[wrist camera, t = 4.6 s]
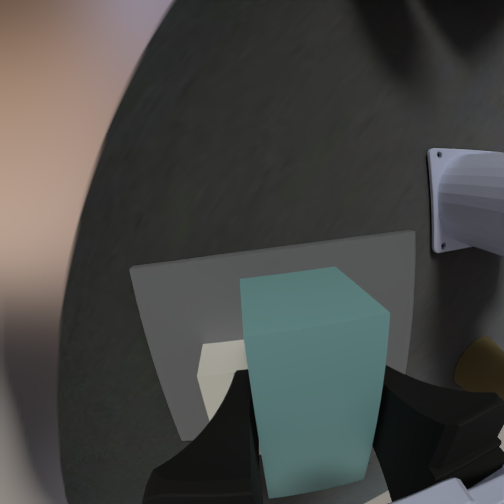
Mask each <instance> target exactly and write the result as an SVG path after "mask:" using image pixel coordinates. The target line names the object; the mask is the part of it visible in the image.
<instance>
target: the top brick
mask: <svg viewBox="0 0 504 504" xmlns="http://www.w3.org/2000/svg"><path fill="white" fill-rule="evenodd" d="M240 293H241V308H242V323H243V337H244V344H245V351H246V358H247V365H248V372H249V378H250V385H251V392H252V398H253V405H254V412H255V418H256V424H257V431H258V437H259V443H260V450H261V456H262V462H263V468H264V474H265V480H266V486H267V492H268V497H269V499H270V498H278V497H285V496H292V495H298V494H303V493H309V492H314V491H319V490H323V489H328V488H332V487H337V486H341V485H345V484H348V483H352V482H356V481H359V480H363V479H364V477H365V473H366V469H367V465H368V461H369V457H370V453H371V448H372V444H373V439H374V434H375V429H376V424H377V419H378V413H379V407H380V401H381V395H382V388H383V381H384V374H385V365H386V357H387V347H388V336H389V323H390V312H389V311H388V310H387V309H385V308H384V307H383V306H382V305H381V304H380V303H378V302H377V301H376V300H375V299H374V298H373V297H371V296H370V295H369V294H368V293H367V292H365V291H364V290H363V289H362V288H361V287H359V286H358V285H357V284H356V283H355V282H354V281H352V280H351V279H350V278H349V277H348V276H346V275H345V274H344V273H343V272H341V271H340V270H339V269H338V268H337V267H328V268H320V269H313V270H306V271H298V272H291V273H283V274H275V275H267V276H259V277H251V278H243V279H240Z"/></svg>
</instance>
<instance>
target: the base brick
mask: <svg viewBox="0 0 504 504" xmlns="http://www.w3.org/2000/svg"><path fill="white" fill-rule="evenodd" d="M245 369H248V365H247V358H246V351H245V344H244V340H235V341H227V342H218V343H208V344H203V346H202V351H201V357H200V362H199V368H198V373H197V379H198V382H199V386H200V390H201V393H202V397H203V400H204V404H205V407H206V411H207V414H208V418H209V421H210V420H211V419H212V418H213V416H214V415H215V413H216V411H217V410H218V408H219V407H220V405H221V403H222V402H223V400H224V398H225V396H226V394H227V392H228V390H229V387H230V385H231V382H232V380H233V377H234V373H235V372H236V371H237V370H245ZM259 455H261V450H260V443H259Z"/></svg>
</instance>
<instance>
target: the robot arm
mask: <svg viewBox="0 0 504 504" xmlns="http://www.w3.org/2000/svg"><path fill="white" fill-rule="evenodd" d="M437 153H439V158H438V156H437ZM427 157H428V167H429V178H430V192H431V214H432V250H433V251H434V252H436V253H442V252H447V251H452V250H458V249H463V248H468V247H473V246H474V247H477V248H480V249H483V250H486V251H489V252H492V253H494V254H497V255H500V256H503V257H504V153H501V152H491V151H478V150H463V149H441V148H432V149H429V150H428V152H427ZM442 243H443V247H442V248H441V245H442ZM503 425H504V400H503V399H502V398H501V397H500V396H499V395H498V394H497V393H495V392H467V391H458V390H452V389H447V388H443V387H438V386H435V385H431V384H428V383H425V382H422V381H419V380H417V379H414V378H412V377H410V376H407V375H405V374H403V373H401V372H399V371H397V370H395V369H393V368H391V367H389V366H387V365H385V374H384V381H383V388H382V395H381V401H380V407H379V413H378V419H377V424H376V429H375V434H374V439H373V444H372V446H373V448H374V450H375V452H376V455H377V458H378V460H379V463H380V466H381V468H382V471H383V474H384V477H385V480H386V483H387V487H388V490H389V493H390V497H391V500H392V502H391V503H388V504H504V452H503V451H502V449H501V448H500V447H499V446H500V445H501V440H500V439H499V438H498V437H497V436H498V434H499V432H500V431H501V429H502V427H503ZM142 504H263V499H262V491H261V483H260V474H259V437H258V431H257V424H256V418H255V412H254V405H253V398H252V392H251V385H250V378H249V372H248V369H245V370H237V371H236V372H235V373H234V377H233V380H232V382H231V385H230V387H229V390H228V392H227V394H226V396H225V398H224V400H223V402H222V403H221V405H220V407H219V408H218V410H217V411H216V413H215V415H214V416H213V418H212V419H211V420H210V422H209V423H208V424H207V426H206V427H205V428H204V429H203V430H202V431H201V433H200V434H199V435H198V436H197V437H196V438H195V439H194V440H193V441H192V442H191V443H190V444H189V445H188V446H187V447H185V448H184V449H183V450H182V451H181V452H179V453H178V454H177V455H176V456H174V457H173V458H172V459H170V460H168V461H167V462H165V463H164V464H162V465H160V466H159V467H157V468H155V469H154V470H153V471H152V473H151V475H150V478H149V480H148V482H147V485H146V488H145V492H144V497H143V502H142Z"/></svg>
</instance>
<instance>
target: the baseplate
mask: <svg viewBox="0 0 504 504" xmlns="http://www.w3.org/2000/svg"><path fill="white" fill-rule="evenodd" d="M328 267H337V268H338V269H339V270H340V271H341V272H343V273H344V274H345V275H346V276H348V277H349V278H350V279H351V280H352V281H354V282H355V283H356V284H357V285H358V286H359V287H361V288H362V289H363V290H364V291H365V292H367V293H368V294H369V295H370V296H371V297H373V298H374V299H375V300H376V301H377V302H378V303H380V304H381V305H382V306H383V307H384V308H385V309H387V310H388V311H389V312H390V323H389V336H388V347H387V357H386V365H387V366H389V367H391V368H393V369H395V370H397V371H399V372H401V373H403V374H405V373H406V367H407V360H408V353H409V345H410V336H411V326H412V315H413V302H414V284H415V231H412V230H404V231H396V232H388V233H380V234H373V235H365V236H357V237H350V238H342V239H334V240H327V241H319V242H311V243H304V244H296V245H289V246H281V247H273V248H266V249H258V250H251V251H243V252H235V253H228V254H220V255H213V256H205V257H198V258H190V259H183V260H175V261H168V262H160V263H152V264H145V265H137V266H132V267H131V268H130V269H129V270H130V275H131V279H132V284H133V288H134V292H135V296H136V300H137V304H138V308H139V312H140V316H141V320H142V324H143V327H144V331H145V335H146V338H147V342H148V345H149V348H150V352H151V355H152V358H153V362H154V365H155V368H156V371H157V374H158V377H159V380H160V383H161V386H162V389H163V392H164V395H165V398H166V401H167V403H168V406H169V409H170V412H171V414H172V417H173V419H174V422H175V425H176V427H177V430H178V432H179V435H180V437H181V440H182V441H192V440H194V439H195V438H196V437H197V436H198V435H199V434H200V433H201V431H202V430H203V429H204V428H205V427H206V426H207V424H208V423H209V422H210V421H209V418H208V414H207V411H206V407H205V404H204V400H203V397H202V393H201V390H200V386H199V382H198V379H197V373H198V368H199V362H200V357H201V351H202V346H203V344H208V343H218V342H227V341H235V340H244V337H243V323H242V308H241V293H240V279H243V278H251V277H259V276H267V275H275V274H283V273H291V272H298V271H306V270H313V269H320V268H328Z"/></svg>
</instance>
